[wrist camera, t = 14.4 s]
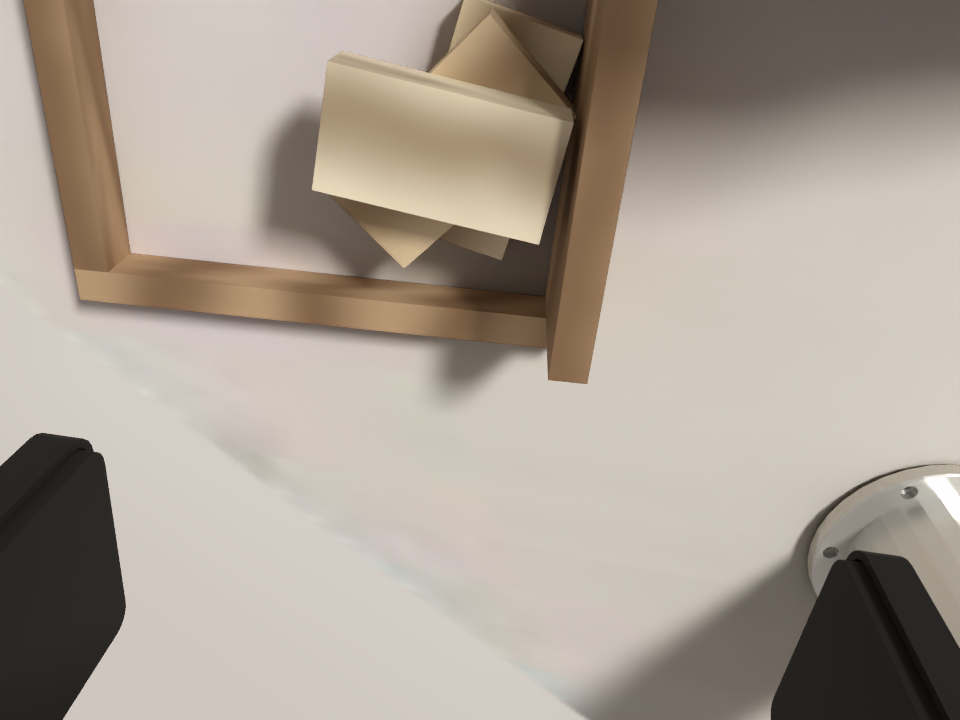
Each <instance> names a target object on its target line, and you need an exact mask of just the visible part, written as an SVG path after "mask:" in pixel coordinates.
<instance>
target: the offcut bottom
mask: <svg viewBox="0 0 960 720" xmlns="http://www.w3.org/2000/svg"><path fill="white" fill-rule="evenodd" d="M492 8H493V9H494V10H495V11H496V12H497V13H498V15H499V16H500V17H501V18H502V19H503V21H504V22H505V23H506V24H507V25H508V27H509V28H510V29H511V30H512V31H513V33H514V34H515V35H516V36H517V38H518V39H519V40H520V41H521V42H522V44H523V45H524V46H525V47H526V48H527V50H528V51H529V52H530V53H531V54H532V56H533V57H534V58H535V59H536V60H537V62H538V63H539V64H540V65H541V66H542V68H543V69H544V70H545V71H546V72H547V74H548V75H549V76H550V77H551V79H552V80H553V81H554V82H555V83H556V85H557V86H558V87H559V88H560V89H561V91H562V92H563V93H564V91H565V89H566V86H567V83H568V80H569V78H570V75H571V72H572V70H573V67H574V64H575V62H576V59H577V56H578V54H579V51H580V48H581V46H582V43H583V39H582V36H581V35H580V34H578V33H575V32H572V31H569V30H567V29H564V28H561V27H559V26H556V25H553V24H550V23H548V22H545V21H542V20H540V19H537V18H534V17H532V16H529V15H526V14H523V13H521V12H518V11H515V10H513V9H510V8H507V7H505V6H502V5H499V4H496V3H494V2H491V1H488V0H463V4H462V7H461V11H460V14H459V17H458V21H457V24H456V28H455V31H454V35H453V38H452V42H451V45H450V48H449V51H450V50H451V49H452V48H453V47H454V46H455V45H456V44H457V43H458V42H459V41H460V40H461V39H462V38H463V37H464V36H465V35H466V34H467V33H468V32H469V31H470V30H471V29H472V28H473V27H474V26H475V25H476V24H477V23H478V22H479V21H480V20H481V19H482V18H483V17H484V16H485V15H486V14H487V13H488V12H489V11H490V10H491V9H492ZM438 239H439V240H442V241H445V242H448V243H451V244H454V245H457V246H460V247H463V248H466V249H469V250H472V251H475V252H478V253H481V254H484V255H487V256H490V257H493V258H496V259H499V260H502V258H503V255H504V252H505V250H506V247H507V244H508V242H509V239H510V238H508V237H504V236H500V235H496V234H492V233H488V232H484V231H479V230H475V229H471V228H467V227H463V226H459V225H455V224H454V225H453V226H452V227H451V228H450V229H449V230H448V231H446V232H445V233H444V234H443V235H442V236H441V237H440V238H438Z"/></svg>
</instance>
